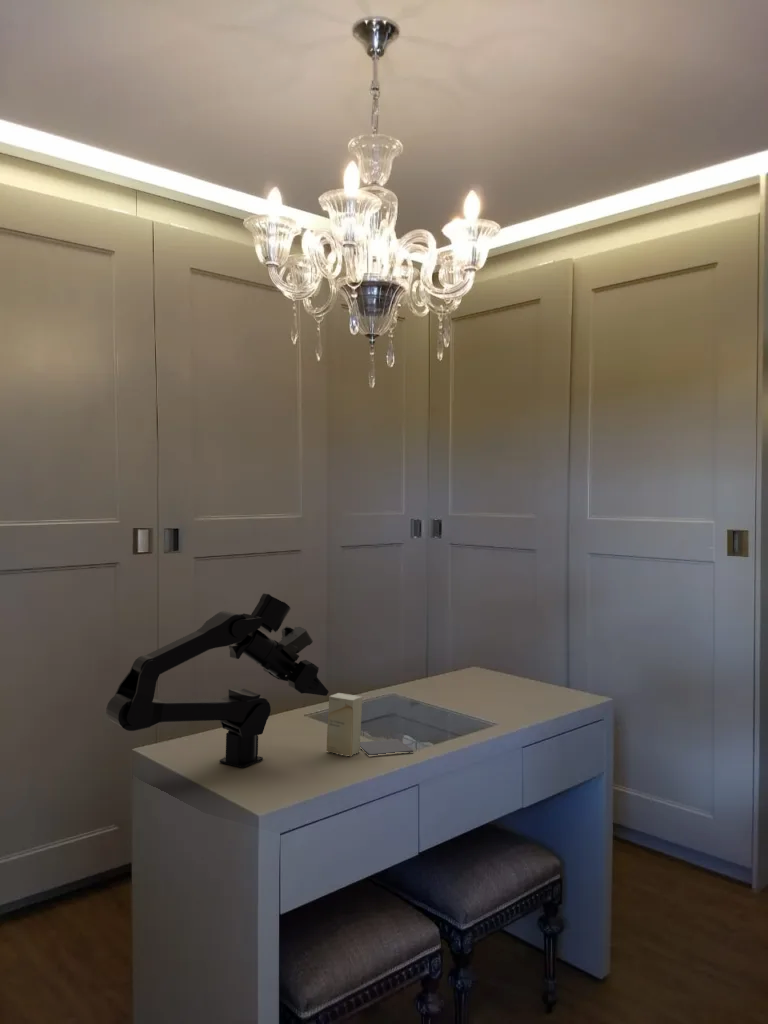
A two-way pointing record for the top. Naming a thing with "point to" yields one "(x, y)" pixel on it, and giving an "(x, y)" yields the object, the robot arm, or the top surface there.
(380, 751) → the rubber mat
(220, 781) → the top surface
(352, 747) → the skincare box
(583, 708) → the top surface
